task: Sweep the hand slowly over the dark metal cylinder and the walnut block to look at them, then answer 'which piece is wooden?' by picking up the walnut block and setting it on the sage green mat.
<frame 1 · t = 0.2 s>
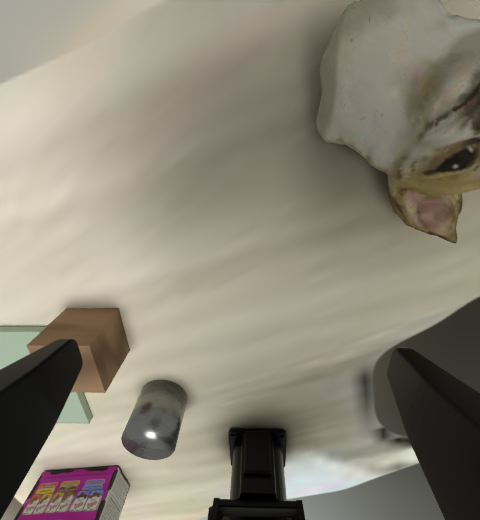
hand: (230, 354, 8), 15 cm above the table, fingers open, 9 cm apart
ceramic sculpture: (402, 121, 18), on the table
metal cylinder: (164, 396, 30), on the table
candy bar box: (89, 476, 37), on the table
walnut block: (99, 329, 26), on the table
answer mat: (22, 375, 29), on the table
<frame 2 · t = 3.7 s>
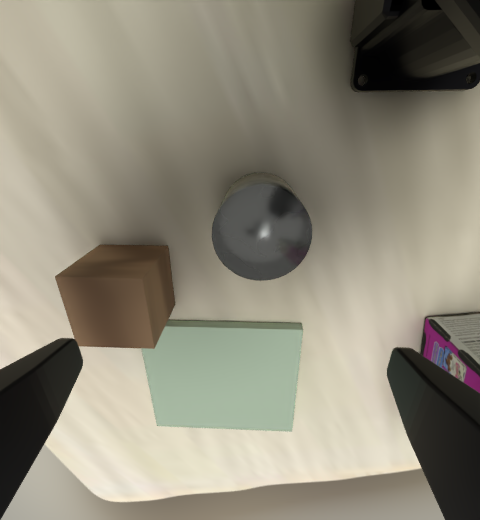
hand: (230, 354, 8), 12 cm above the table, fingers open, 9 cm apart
metal cylinder: (259, 211, 18), on the table
candy bar box: (446, 363, 23), on the table
walnut block: (139, 275, 21), on the table
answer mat: (222, 376, 25), on the table
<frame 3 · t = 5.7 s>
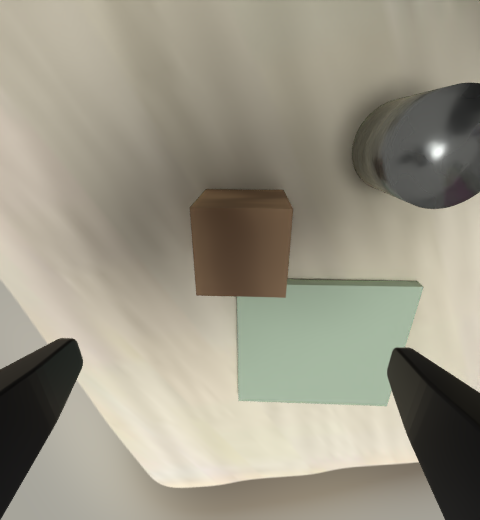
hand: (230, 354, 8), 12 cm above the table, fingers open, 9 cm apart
metal cylinder: (395, 146, 16), on the table
walnut block: (244, 226, 19), on the table
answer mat: (317, 344, 23), on the table
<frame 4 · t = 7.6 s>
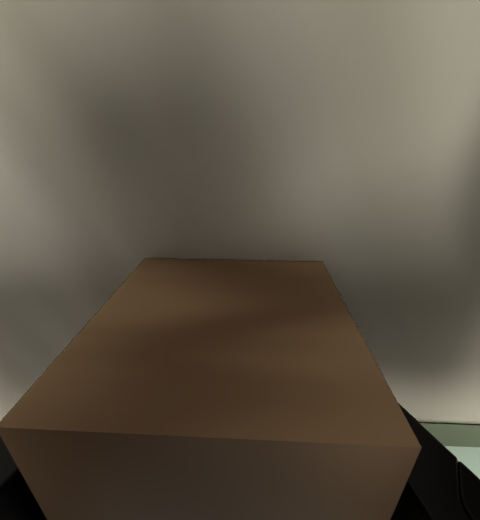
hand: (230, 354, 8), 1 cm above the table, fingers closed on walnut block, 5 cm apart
walnut block: (233, 331, 9), on the table, touching gripper
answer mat: (367, 509, 13), on the table
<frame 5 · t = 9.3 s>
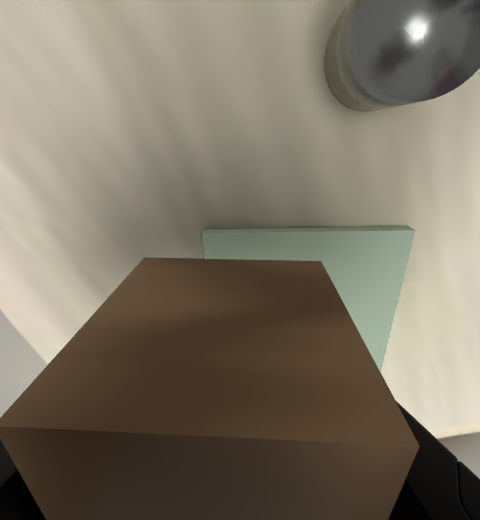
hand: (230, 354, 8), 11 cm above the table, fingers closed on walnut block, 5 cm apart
metal cylinder: (374, 55, 14), on the table
walnut block: (232, 330, 9), point 10 cm above the table, touching gripper
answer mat: (298, 306, 20), on the table
when the fingers open (3 cm above the table, at t = 11.5 s): walnut block drops 1 cm, resting on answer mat.
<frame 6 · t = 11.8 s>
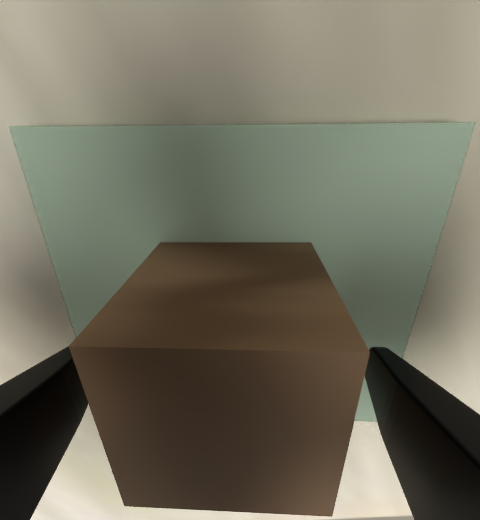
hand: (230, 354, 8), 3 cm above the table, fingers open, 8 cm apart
walnut block: (236, 305, 10), point 1 cm above the table, touching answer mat
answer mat: (237, 294, 11), on the table
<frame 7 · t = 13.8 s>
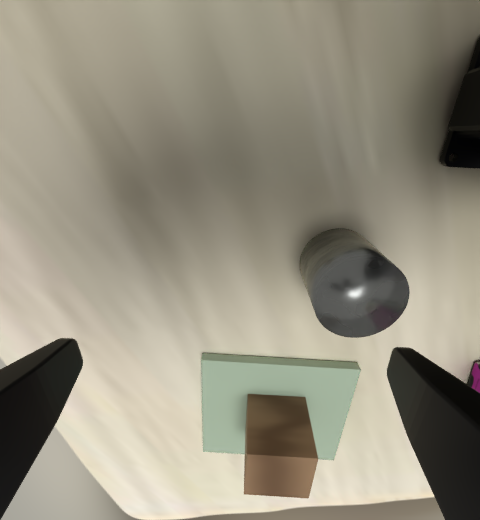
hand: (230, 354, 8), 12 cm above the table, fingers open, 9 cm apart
metal cylinder: (335, 262, 19), on the table
walnut block: (274, 414, 25), point 1 cm above the table, touching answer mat
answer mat: (273, 406, 26), on the table
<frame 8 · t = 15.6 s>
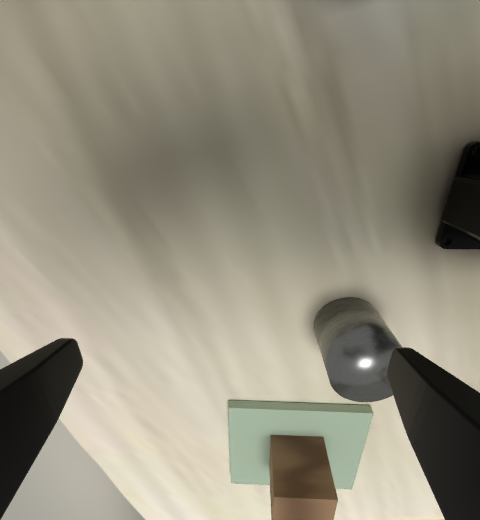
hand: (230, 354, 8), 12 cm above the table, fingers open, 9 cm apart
metal cylinder: (345, 324, 22), on the table
walnut block: (295, 451, 27), point 1 cm above the table, touching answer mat
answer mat: (293, 443, 28), on the table
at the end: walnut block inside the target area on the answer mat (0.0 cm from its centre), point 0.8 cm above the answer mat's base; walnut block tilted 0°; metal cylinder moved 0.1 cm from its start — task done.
